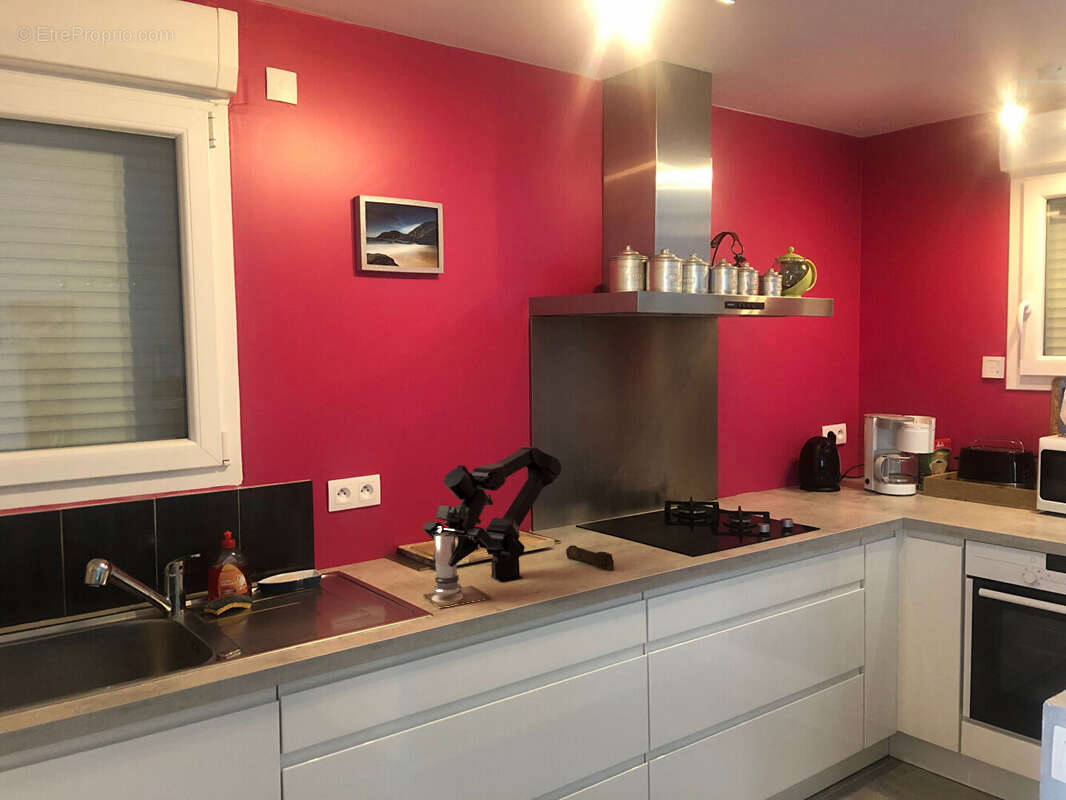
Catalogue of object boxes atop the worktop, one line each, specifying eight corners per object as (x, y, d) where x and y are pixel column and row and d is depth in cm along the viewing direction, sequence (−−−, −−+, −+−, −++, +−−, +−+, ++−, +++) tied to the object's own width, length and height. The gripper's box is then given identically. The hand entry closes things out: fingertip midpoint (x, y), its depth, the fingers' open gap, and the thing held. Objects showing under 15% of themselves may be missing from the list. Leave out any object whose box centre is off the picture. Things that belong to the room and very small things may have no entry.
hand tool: (565, 559, 242) (564, 543, 241) (577, 557, 244) (576, 541, 243) (605, 574, 226) (604, 556, 225) (617, 571, 228) (616, 554, 227)
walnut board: (471, 588, 217) (471, 585, 217) (490, 599, 207) (490, 595, 207) (423, 597, 211) (423, 594, 211) (439, 609, 201) (439, 605, 201)
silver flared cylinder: (445, 586, 212) (442, 530, 211) (467, 589, 208) (464, 532, 207) (427, 594, 206) (424, 536, 205) (450, 597, 203) (446, 539, 202)
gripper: (425, 489, 214) (396, 542, 206) (482, 494, 203) (453, 551, 195) (448, 514, 221) (421, 566, 213) (505, 520, 210) (477, 576, 202)
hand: (442, 564), depth 206 cm, fingers closed on silver flared cylinder, 5 cm apart
